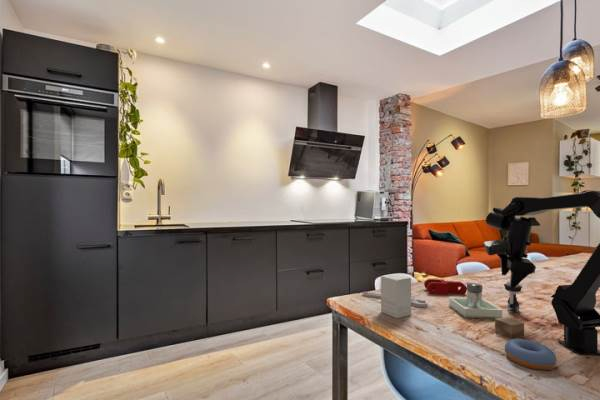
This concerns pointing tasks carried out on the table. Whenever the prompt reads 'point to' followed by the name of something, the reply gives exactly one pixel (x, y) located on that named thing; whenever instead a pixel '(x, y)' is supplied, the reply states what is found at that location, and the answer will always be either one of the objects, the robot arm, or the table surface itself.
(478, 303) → the pepper shaker
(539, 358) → the doughnut
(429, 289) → the mechanical linkage
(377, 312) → the table surface
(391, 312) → the supplement box
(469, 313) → the bin
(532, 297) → the table surface
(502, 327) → the walnut block
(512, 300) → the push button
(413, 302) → the adjustable wrench
